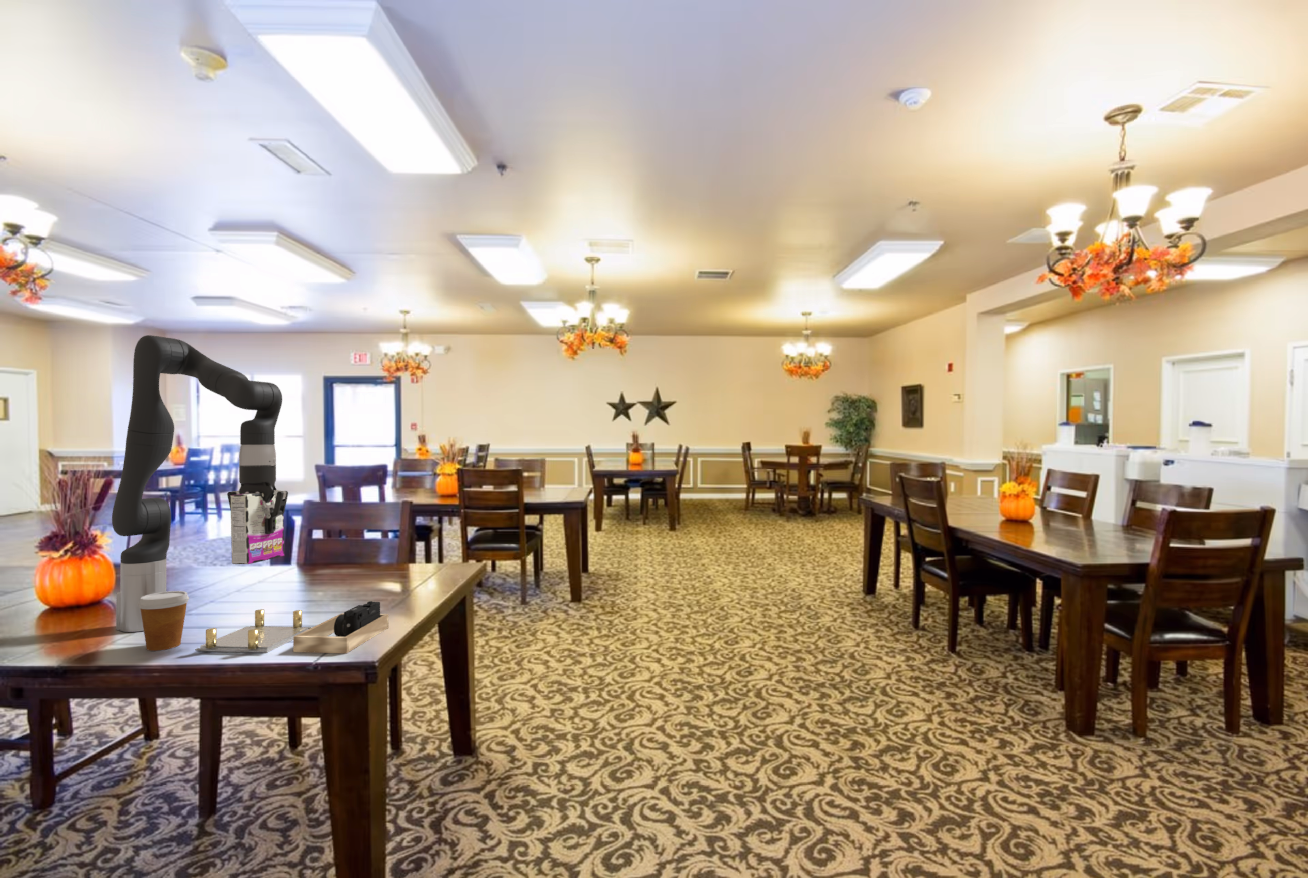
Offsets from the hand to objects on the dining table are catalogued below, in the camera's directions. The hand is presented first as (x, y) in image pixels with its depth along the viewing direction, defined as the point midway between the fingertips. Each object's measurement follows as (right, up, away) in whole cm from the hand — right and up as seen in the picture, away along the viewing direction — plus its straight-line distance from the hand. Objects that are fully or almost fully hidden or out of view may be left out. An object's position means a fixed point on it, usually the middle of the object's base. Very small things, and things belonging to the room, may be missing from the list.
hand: (258, 533), depth 150 cm
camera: (+22, -26, +4) cm, 35 cm away
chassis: (0, -26, -1) cm, 26 cm away
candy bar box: (0, -7, 0) cm, 7 cm away
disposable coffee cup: (-19, -26, -4) cm, 33 cm away
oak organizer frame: (+20, -26, +1) cm, 33 cm away
